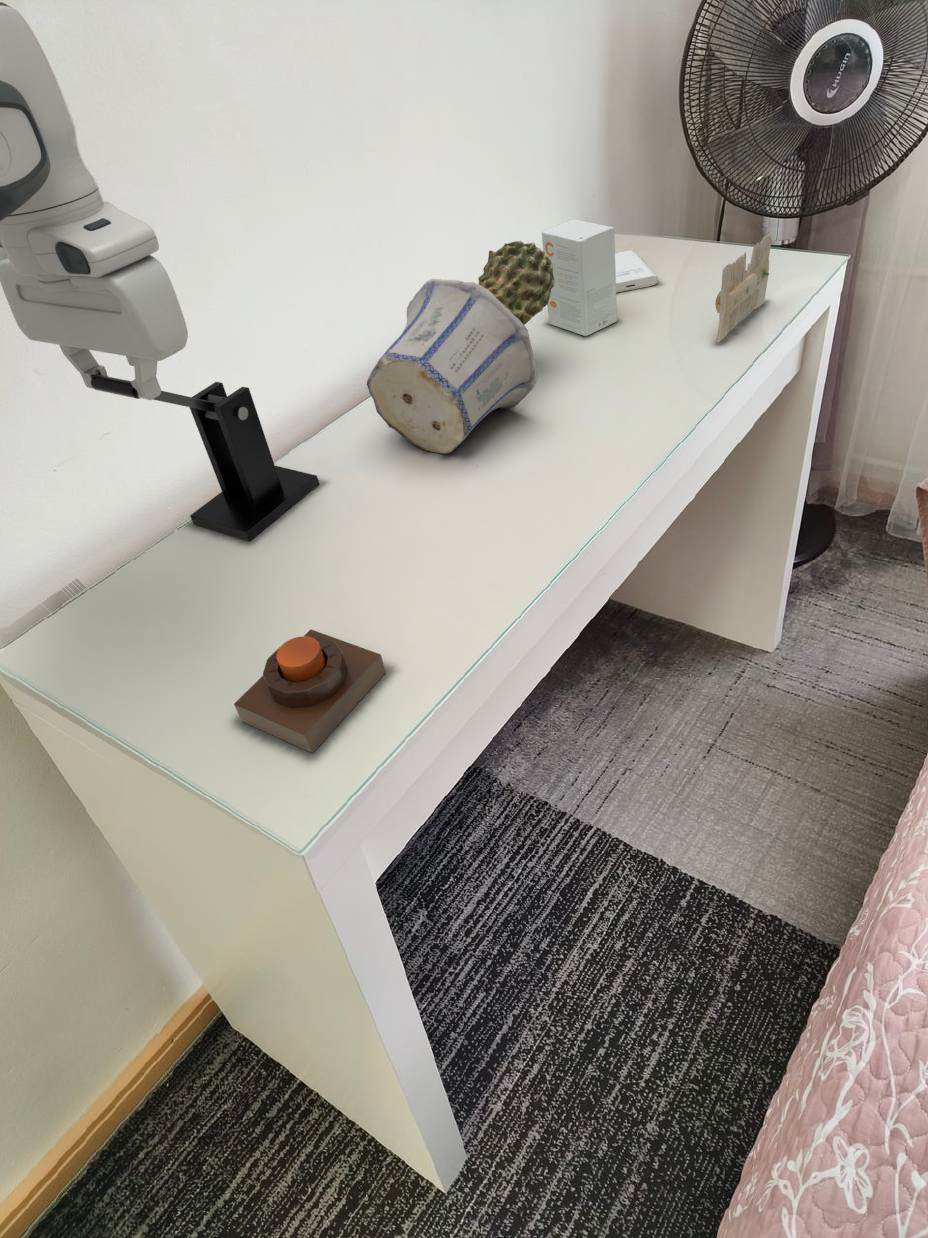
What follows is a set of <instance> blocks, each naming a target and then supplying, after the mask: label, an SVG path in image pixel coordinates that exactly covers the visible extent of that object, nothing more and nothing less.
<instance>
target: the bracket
mask: <svg viewBox="0 0 928 1238" xmlns="http://www.w3.org/2000/svg"><path fill="white" fill-rule="evenodd" d="M208 395H214V396H219V397H224V399H223V400H221V401H220V402H218V403H217V404H215V405H214V409H215V412H216V415H217V417H218V420H215V419H210V418H206V417H205V412H206V411H205V410H200V409H196V408H191V407H188V408H189V410H190V412H191V415H192V417H193V418H192V419H193V420H194V423H195V426H196V428H197V432H198V433H199V436H200V439H201V441H202V444H203V446H204V448H205V449H204V450H205V452H206V454H207V456H208V459H209V462H210V464H211V467H212V469H213V472H214V474H215V477H216V480H217V482H218V484H219V487H220V490H221V491H220V492H219V493H217V494H216V495H215V496H214V497H212V498H211V499H210V500H209V501H207V502H206V503H204V505H202V506H201V507H199V508H198V509H197V510H195V511H194V512H193V513H191V514H190V515H189V516H190V519H191V521H192V524H193V525H196V526H199V527H202V528H204V529H209V530H211V531H215V532H218V533H221V534H224V535H228V536H231V537H235V538H238V539H241V540H245V541H248V542H251V541H252V540H253V539H254V538H256V537H257V536H258V535H259V534H261V533H262V532H263V531H264V530H265V529H267V528H268V527H269V526H271V524H273V523H274V522H275V521H276V520H278V519H279V518H280V517H282V516H283V515H284V514H285V513H287V512H288V511H289V510H290V509H291V508H293V507H294V506H295V505H296V504H297V503H299V501H301V500H302V499H303V498H304V497H306V496H307V495H308V494H309V493H310V492H312V491H313V490H315V488H317V487H318V486H319V485H320V482H319V478H318V475H317V474H312V473H308V472H304V471H299V470H296V469H291V468H287V467H283V466H279V465H275V461H274V460H273V459H274V458H273V456H272V453H271V450H270V447H269V444H268V440H267V438H266V435H265V432H264V429H263V425H262V423H261V420H260V418H259V414H258V411H257V408H256V404H255V401H254V399H253V396H252V393H251V390H250V388H249V387H247V386H241V387H239V388H238V389H236V390H235V391H233V392H232V393H231V394H229V395H227V391H226V389H225V386H224V384H223V382H220V381H215V382H213V383H211V384H210V385H208V386H206V387H205V388H204V389H202V390H200V391H199V392H197V393H196V394H194V395H193V396H191V397H192V398H197V399H201V400H206V401H207V399H208Z"/></svg>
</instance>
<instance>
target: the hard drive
mask: <svg viewBox="0 0 928 1238" xmlns="http://www.w3.org/2000/svg"><path fill="white" fill-rule="evenodd" d="M615 271H616V294H618V293H622V292H627V291H632V290H638V289H642V288H646V287H652V286H655V285H656V284H657V283H658V276H657V275H656V274H655V273H654V272H653V271H652V269H651V268H650V267H649V266H648V265H647V264H646V263H645V262H644V260H643V259H641V257H640V256H639V255H638V254H637V253H636V252H635V251H634V250H631V249H629V250H624V251H620V252H615Z"/></svg>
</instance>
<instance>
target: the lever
mask: <svg viewBox="0 0 928 1238" xmlns="http://www.w3.org/2000/svg"><path fill="white" fill-rule="evenodd" d="M107 376H108V375H107ZM107 376H102V375H94V376H93V377H92V379H91V386H92V387H93V388H94V389H93V390H95V391H99V392H104V393H108V394H112V395H117V396H122V397H127V398H132V399H136V400H140V399H141V398H138V397H137V396H136V394H135V390H134V389H133V387H132V384H131V381H132V380H128V379H122V378H117V377H112V376H108V377H107ZM192 397H193V396H187V395H183V394H178V393H174V392H170V391H165V390H161V394H160V395H159V396H157V397H156V398H154V399H152V400H153V401H158V402H163V403H167V404H172V405H176V406H182V407H187V408H189V407H191V408H196V409H200V410H205V411H206V412H205V417H206V418H210V419H215V420H218V417H217V415H216V412H215V409H214V405H215V404H217V403H218V402H220V401H221V400H223V399H224V397H219V396H214V395H208V399H207V401H206V400H201V399H197V398H192Z"/></svg>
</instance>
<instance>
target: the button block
mask: <svg viewBox="0 0 928 1238" xmlns="http://www.w3.org/2000/svg"><path fill="white" fill-rule="evenodd" d="M303 636H308V637H312V638H314V639H316V640H317V641H318V642H319V644H320V647H321V650H322V653H323V656H324V659H325V665H324V667H323V669H322V671H321V672H320V673H319V674H318V675H316V676H315V677H312V678H310V679H308V680H306V681H300V682H295V681H290V680H288V679H286V678H285V677H284V675H283V673H282V671H281V668H280V666H279V663H278V661H277V657H276V655H277V651H278V649H279V648H280V647H281V646H282V645H281V646H279V647H278V648H276V650H275V651H274V652H272V654H271V655H270V656H269V657H268V658H267V659H266V662H265V665H264V669H263V672H262V676H261V677H260V678H259V679H258V680H257V681H256V682H255V683H254V684H253V685H251V686H250V688H249V689H247V690H246V691H245V692H244V693H243V694H242V695H241V696H240V697H239V698H238V699H237V700H236V701H235V702H234V703H233V705H234V707H235V710H236V712H237V714H238V715H239V718H240V720H241V722H242V723H244V724H247V725H249V726H251V727H254V728H255V729H257V730H260V731H262V732H264V733H266V734H269V735H271V736H273V737H276V738H278V739H279V740H282V741H284V742H285V743H286V742H287V743H289V744H291V745H293V746H295V747H298V748H299V749H302V750H304V751H307V752H308V753H311V754H314V753H315V752H316V751H317V750H318V749H319V747H320V746H321V745H322V744H323V743H324V742H325V741H326V740H327V738H328V737H329V736H330V735H331V734H332V733H333V732H334V731H335V730H336V729H337V728H338V726H339V725H340V724H341V723H342V722H343V721H344V720H345V719H346V718H347V716H348V715H349V714H351V712H352V711H353V710H354V709H355V708H356V706H357V705H359V703H360V702H361V701H362V700H363V699H364V698H365V697H366V696H367V694H368V693H369V692H370V691H371V690H372V689H373V688H374V686H375V685H376V684H377V683H379V681H380V680H381V679H382V678H383V677H384V675H385V674H386V673H387V671H386V667H385V664H384V661H383V657H382V654H380V653H378V652H376V651H372V650H370V649H368V648H364V647H361V646H359V645H356V644H354V643H350V642H347V641H344V640H342V639H339V638H336V637H333V636H332V635H331V636H330V635H328V634H325V633H322V632H320V631H316V630H315V629H309V630H308V631H307V632H306V633H305V634H304V635H303Z"/></svg>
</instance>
